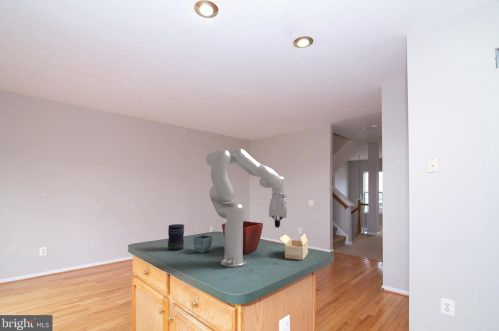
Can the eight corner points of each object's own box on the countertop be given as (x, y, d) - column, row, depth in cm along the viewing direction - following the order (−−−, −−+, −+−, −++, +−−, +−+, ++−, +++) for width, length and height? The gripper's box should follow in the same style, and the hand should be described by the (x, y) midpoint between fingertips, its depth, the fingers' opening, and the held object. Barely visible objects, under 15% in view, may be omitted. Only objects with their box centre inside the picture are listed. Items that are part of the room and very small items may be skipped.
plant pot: (245, 257, 138) (245, 227, 139) (220, 251, 149) (220, 223, 150) (263, 250, 153) (263, 223, 154) (240, 245, 164) (240, 220, 166)
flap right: (302, 245, 134) (303, 245, 134) (299, 238, 135) (300, 237, 135) (306, 240, 146) (307, 240, 146) (304, 233, 147) (305, 233, 147)
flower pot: (212, 251, 151) (212, 236, 152) (202, 254, 143) (203, 238, 144) (202, 249, 156) (202, 234, 156) (192, 252, 148) (192, 237, 149)
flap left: (279, 238, 139) (278, 239, 140) (285, 243, 138) (284, 244, 138) (285, 234, 152) (285, 234, 152) (290, 239, 150) (290, 239, 150)
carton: (302, 260, 132) (302, 247, 132) (284, 258, 136) (284, 245, 136) (308, 252, 147) (307, 240, 148) (291, 250, 151) (291, 239, 152)
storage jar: (186, 247, 159) (187, 224, 160) (178, 251, 149) (179, 226, 151) (172, 246, 161) (173, 223, 162) (164, 250, 152) (165, 226, 153)
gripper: (291, 197, 149) (291, 227, 147) (268, 196, 155) (267, 225, 153) (288, 197, 142) (287, 229, 140) (264, 196, 148) (263, 227, 146)
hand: (277, 227), depth 147 cm, fingers closed
